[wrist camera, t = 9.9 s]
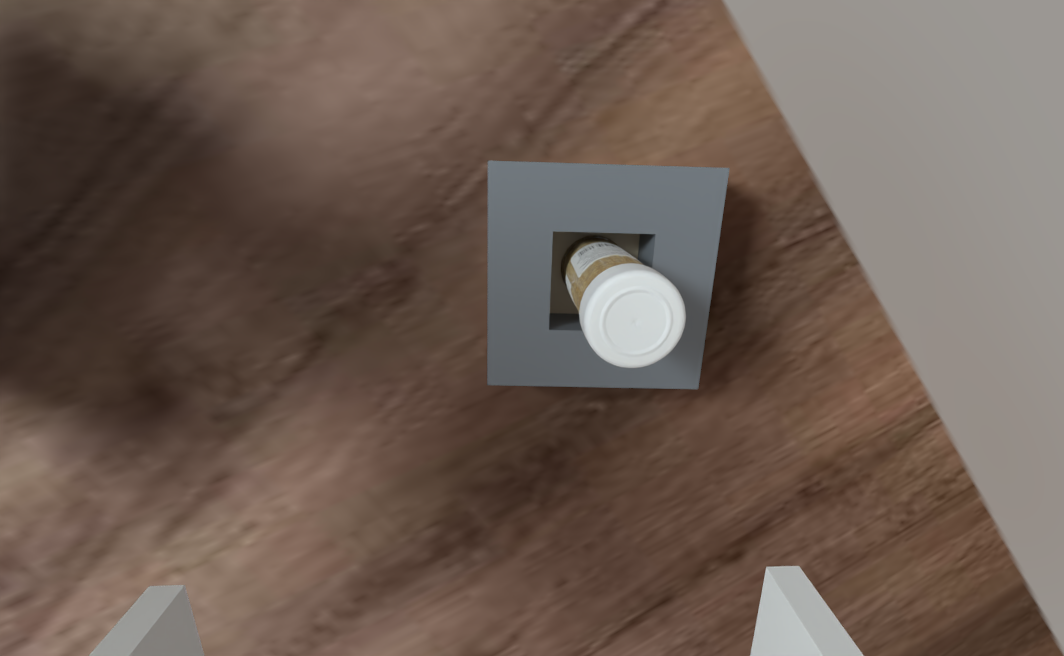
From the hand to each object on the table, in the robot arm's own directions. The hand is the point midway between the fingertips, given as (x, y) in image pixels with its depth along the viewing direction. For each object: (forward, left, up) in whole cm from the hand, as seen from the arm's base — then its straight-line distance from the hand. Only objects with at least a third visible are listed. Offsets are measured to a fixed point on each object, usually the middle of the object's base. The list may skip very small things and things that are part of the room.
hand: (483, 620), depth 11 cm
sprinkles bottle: (+6, +4, -25) cm, 26 cm away
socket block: (+6, +4, -26) cm, 27 cm away
